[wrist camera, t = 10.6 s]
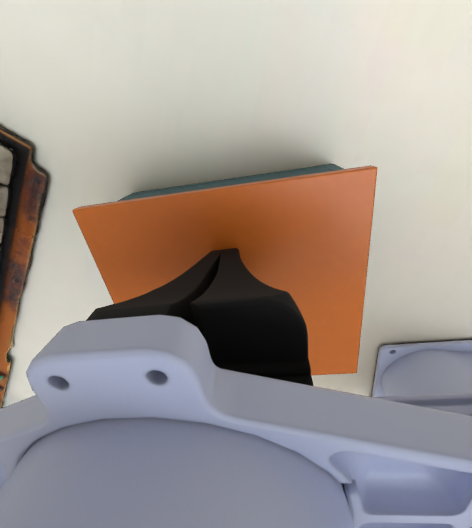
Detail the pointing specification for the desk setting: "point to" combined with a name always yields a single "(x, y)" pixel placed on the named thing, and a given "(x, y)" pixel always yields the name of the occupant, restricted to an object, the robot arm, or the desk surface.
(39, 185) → the mechanical keyboard
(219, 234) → the lid
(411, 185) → the desk surface
